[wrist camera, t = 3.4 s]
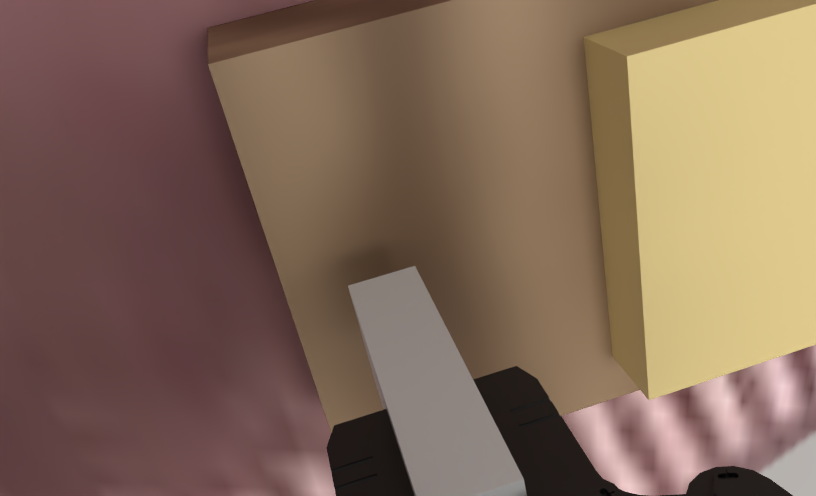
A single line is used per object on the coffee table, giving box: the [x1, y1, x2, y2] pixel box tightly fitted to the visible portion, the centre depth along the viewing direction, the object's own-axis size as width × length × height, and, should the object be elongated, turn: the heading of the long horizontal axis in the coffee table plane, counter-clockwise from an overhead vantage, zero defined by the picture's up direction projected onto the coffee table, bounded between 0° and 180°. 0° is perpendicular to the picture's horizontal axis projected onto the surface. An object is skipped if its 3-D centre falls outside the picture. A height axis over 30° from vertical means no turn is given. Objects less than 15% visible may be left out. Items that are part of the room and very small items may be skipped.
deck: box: [208, 0, 718, 433], centre depth 21 cm, size 20×12×4 cm, turn 102°
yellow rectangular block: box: [584, 0, 816, 400], centre depth 19 cm, size 9×6×2 cm, turn 12°
